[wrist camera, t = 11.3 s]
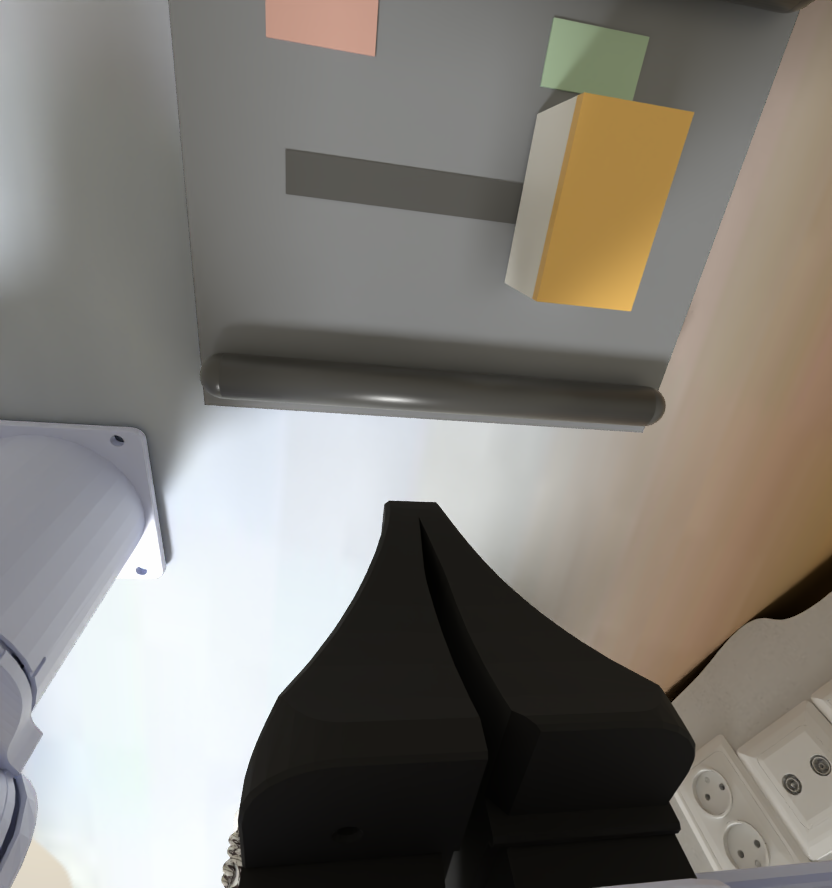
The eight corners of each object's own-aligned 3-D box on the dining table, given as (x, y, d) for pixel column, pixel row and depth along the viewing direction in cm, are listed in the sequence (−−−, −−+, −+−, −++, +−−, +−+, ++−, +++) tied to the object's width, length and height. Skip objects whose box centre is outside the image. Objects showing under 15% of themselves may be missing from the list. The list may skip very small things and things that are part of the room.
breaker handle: (504, 282, 17) (536, 301, 14) (537, 114, 14) (584, 92, 12) (583, 291, 17) (630, 311, 14) (626, 129, 15) (694, 112, 12)
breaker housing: (218, 386, 19) (191, 422, 16) (175, -193, 12) (112, -328, 9) (619, 413, 22) (663, 450, 19) (776, -45, 15) (889, -111, 12)
